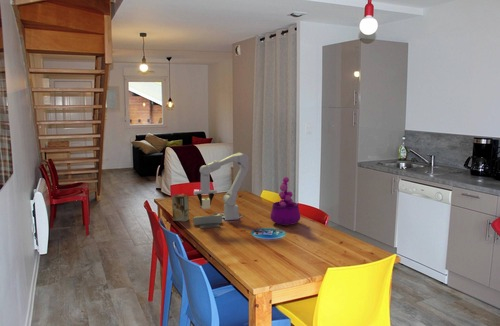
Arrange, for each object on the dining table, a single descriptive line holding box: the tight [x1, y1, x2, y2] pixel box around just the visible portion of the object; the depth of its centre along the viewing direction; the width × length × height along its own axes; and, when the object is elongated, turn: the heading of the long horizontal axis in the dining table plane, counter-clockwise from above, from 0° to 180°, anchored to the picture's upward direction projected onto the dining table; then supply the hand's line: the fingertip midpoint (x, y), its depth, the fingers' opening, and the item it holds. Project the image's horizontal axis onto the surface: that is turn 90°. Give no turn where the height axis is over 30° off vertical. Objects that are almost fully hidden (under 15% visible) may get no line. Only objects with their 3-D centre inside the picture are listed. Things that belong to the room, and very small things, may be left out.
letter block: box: [200, 197, 211, 210], centre depth 267 cm, size 5×5×6 cm
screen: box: [192, 214, 223, 226], centre depth 261 cm, size 18×1×5 cm, turn 107°
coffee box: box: [171, 194, 190, 222], centre depth 270 cm, size 9×6×16 cm
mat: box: [198, 223, 221, 230], centre depth 257 cm, size 12×8×1 cm, turn 107°
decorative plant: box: [269, 176, 301, 226], centre depth 261 cm, size 19×18×30 cm
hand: (205, 205), depth 267 cm, fingers closed on letter block, 5 cm apart
